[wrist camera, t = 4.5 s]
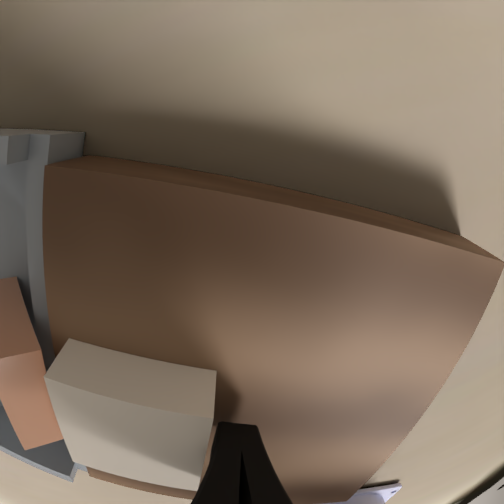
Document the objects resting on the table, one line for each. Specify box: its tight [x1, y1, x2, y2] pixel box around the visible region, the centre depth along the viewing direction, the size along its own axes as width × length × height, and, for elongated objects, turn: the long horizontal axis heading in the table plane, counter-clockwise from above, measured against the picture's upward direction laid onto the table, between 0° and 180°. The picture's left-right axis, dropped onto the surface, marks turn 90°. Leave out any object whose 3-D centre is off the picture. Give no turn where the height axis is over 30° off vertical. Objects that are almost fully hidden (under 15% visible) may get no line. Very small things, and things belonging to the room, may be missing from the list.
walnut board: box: [42, 155, 504, 504], centre depth 12 cm, size 16×15×3 cm
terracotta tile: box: [0, 276, 64, 450], centre depth 9 cm, size 5×5×2 cm
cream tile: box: [44, 338, 217, 491], centre depth 9 cm, size 5×5×2 cm
